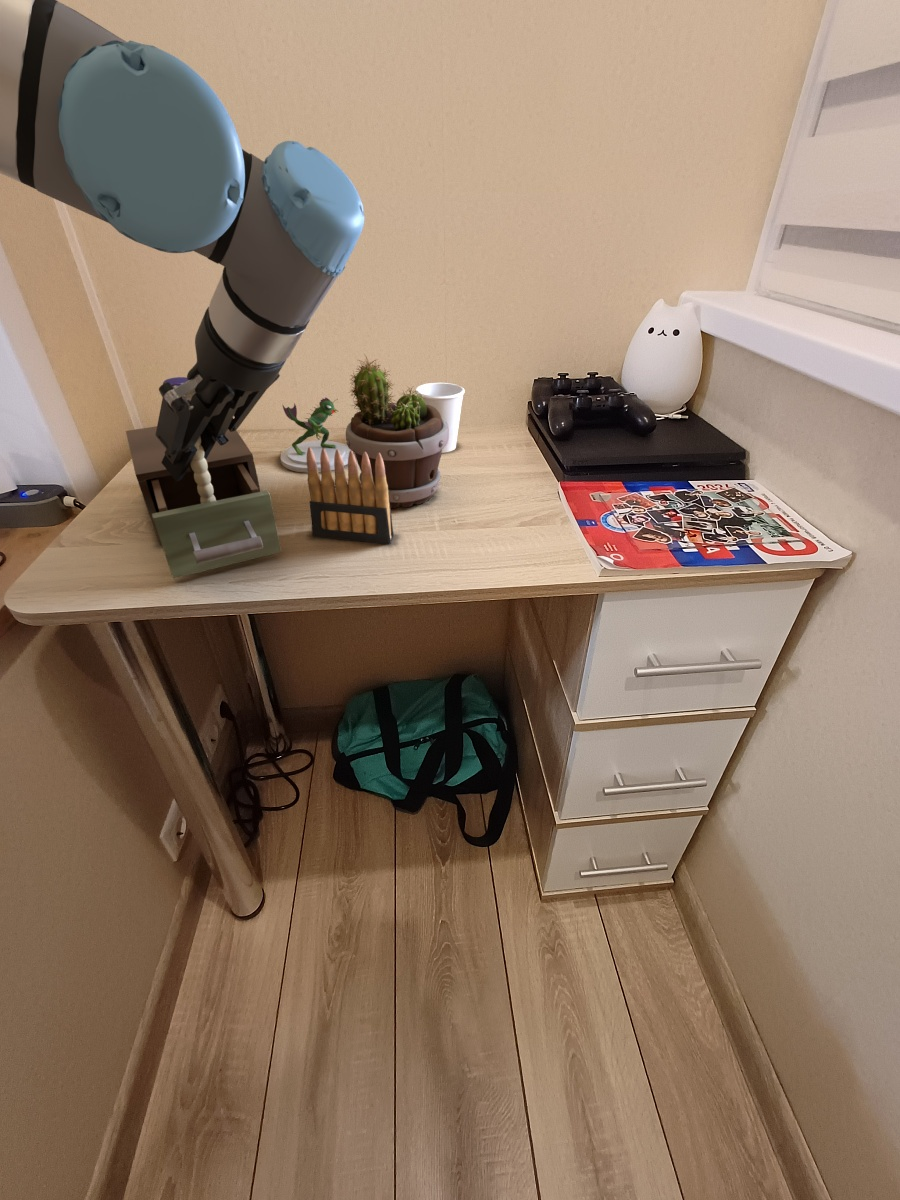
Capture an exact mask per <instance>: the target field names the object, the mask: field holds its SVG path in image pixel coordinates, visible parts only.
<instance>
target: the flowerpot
mask: <svg viewBox="0 0 900 1200" xmlns="http://www.w3.org/2000/svg"><path fill="white" fill-rule="evenodd" d="M363 355H364V356H365V361H363V360H360V359H357V361H359V363H360V365H358V367H357V368H355V370H353V371H352V372H353V373H352V374H351V378H350V381H351V382H350V383H349V385H350V387H352V388H350V391H348V392H347V394H349V393H351V394H350V397H352V401H353V402H352V403H353V404H351V405H350V406H353V407H354V408H353V410H357V411H356V413H354V415H353V417H352V416H351V418H350V422H349V423H348V424H347V426H346V428H345V445H347V446H348V447H349V449H350V450H352V452H353V453H354V456H355V459H356V462H357V466H358V467H359V470H360V474H359V479H360V483H361V484H362V469H361V464H362V456H363V453H364V452H366V453H367V455H368V457H369V460H370V465H371V472H372V478H373V482H374V487H375V463H376V457H377V454H378V453H380V454H381V456H382V459H383V462H384V467H385V475H386V482H387V485H388V495H389V503H390V508H393V509H397V508H399V507H402V508H408V507H412V506H413V505H421V504H423V503H426V502H428V501H429V500H430V499H431V498H433V496H434V494H435V492H436V491H438V487H439V484H440V480H441V471H440V470H439V465H440V461H441V458H442V449H443V448H444V447H445V446H446V445H447V443H448V440H449V427H448V424H447V422H446V421H445V420H444V419H443V418H442V417H441V415H440V413H439V411H438V410H437V409H436V408H435V407H433V406H431V405H426V404H425V402H424V401H423V397H422V395H421V397H420V396H418V395H417V394H416V393H417V392H418V391H417V392H416V391H415V389H414V390H412V389H413V387H410V386H407V388H408V389H407V390H406V391H405V390H402V391H403V392H402V393H400V395H401V397H399V398H398V399H397V400H395V399H393V400H392V398H393V397H396V395H392V394H393V392H391V393H390V392H389V390H390V389H392V387H393V386H394V384H393V383H392V382H391V381H392V379H389V378H388V377H389V376H391V374H389V372H390V370H388V371H387V369H385V367H383V369H384V370H383V369H381V366H380V363H379V361H378V359H379V358H376V359H374V360H372V361H369V359H368V357H367V355H366V353H363ZM377 361H378V363H377ZM355 372H357V373H355ZM415 392H416V393H415ZM419 393H420V390H419ZM420 394H421V393H420ZM420 394H419V395H420ZM354 399H355V400H354ZM424 399H425V398H424ZM393 401H395V402H393Z"/></svg>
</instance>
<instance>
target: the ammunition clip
mask: <svg viewBox="0 0 900 1200" xmlns="http://www.w3.org/2000/svg"><path fill="white" fill-rule="evenodd" d="M320 465H321V472H320V473H319V472H318V469H317V464H316V460H315V456H314V454H313V451H312V449H311V448H310V447H309V448H308V450H307V469H308V470H307V471H308V473H307V486H308V487H307V488H308V494H309V502H308V503H309V512H310V513H309V514H310V522H311V531H312V536H313V537H316V538H325V539H335V540H346V541H355V542H363V543H373V544H374V543H375V544H382V545H383V544H384V545H390V544H391V543H392V541H393V539H394V537H395V535H394V527H393V519H392V518H393V517H392V510H391V507H390V503H389V495H388V485H387V482H386V475H385V467H384V462H383V459H382V456H381V454H380V453H378V454H377V457H376V463H375V487H374V482H373V478H372V472H371V465H370V460H369V457H368V455H367V453H366V452H364V453H363V456H362V464H361V469H362V484H361V483H360V479H359V476H360V474H359V468H358V467H359V466H358V462H357V459H356V456H355V452H353V451H350V452H349V456H348V464H347V476H348V477H346V471H345V466H344V464H343V460H342V457H341V454H340V452H339V450H338V449H337V450H336V452H335V457H334V469H335V470H334V477H333V472H332V471H331V467H330V462H329V458H328V455H327V453H326V451H325V449H324V448H323V449H322V451H321V457H320ZM320 476H321V477H320ZM347 478H348V479H347Z"/></svg>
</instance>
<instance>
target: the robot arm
mask: <svg viewBox="0 0 900 1200" xmlns="http://www.w3.org/2000/svg"><path fill="white" fill-rule="evenodd" d="M0 174H1V175H4V176H5V177H7V178H9V179H12V180H15V181H17V182H19V183H22V184H23V185H26V186H28V187H30V188H33V189H34V190H36V191H37V192H38V193H41V194H43V195H45V196H47V197H50V198H51V199H54V200H56V201H59V202H60V203H62V204H65V205H67V206H70V207H72V208H74V209H77V210H78V211H81V212H83V213H85V214H86V215H87V214H88V215H90V216H92V217H94V218H97V219H99V220H100V221H104V222H106V223H107V224H109V225H111V226H112V227H113V228H114V229H115V230H116V231H117V232H118V233H119V234H121V235H122V236H124V237H126V238H127V239H130V240H131V241H134V242H135V243H138V244H140V245H141V244H142V245H144V246H146V247H148V248H152V249H154V250H157V251H159V252H164V253H169V254H185V253H191V252H195V253H196V254H199V255H200V256H203V257H205V258H207V259H208V260H209V261H211V262H213V263H215V264H217V265H221V266H222V267H223V269H222V274H221V276H220V278H219V280H218V283H217V285H216V287H215V290H214V292H213V294H212V297H211V299H210V301H209V305H208V306H207V308H206V310H205V312H204V314H203V317H202V319H201V321H200V324H199V326H198V328H197V331H196V333H195V336H194V337H195V338H194V347H195V354H196V362H195V364H194V365H193V366H192V367H191V368H190V369H189V370H188V372H187V375H186V378H187V381H186V382H185V383H183V384H181V385H180V386H177V385H175V386H172V385H171V384H170V383H164V384H163V383H162V384H161V385H160V386H159V387H158V392H159V393H160V395H161V398H162V399H161V405H160V409H159V410H160V411H159V414H158V420H157V425H156V426H157V430H156V436H157V438H158V439H159V440H160V441H161V443H162V444H163V445H164V446H165V448H166V451H165V456H164V458H163V460H162V462H161V463H162V464H163V465H164V467H165V468H166V469H167V470H168V472H169V473H170V474H171V475H172V477H173V478H174V479H175V480H176V481H179V480H181V479H182V478H183V476H184V474H185V472H186V471H187V469H188V468H189V469H190V470H191V471H192V472H193V474H194V471H193V470H192V468H191V464H190V463H191V461H192V459H193V457H194V455H195V454H196V452H197V448H196V447H195V446H194V445H195V443H196V442H197V440H198V439H199V437H201V446H202V447H203V449H204V458H205V459H207V457H208V455H209V453H210V451H211V450H212V448H213V446H214V444H215V442H216V441H217V442H218V443H219V444H220V445H224V444H226V443H227V442H228V441H229V440H228V438H227V437H226V436H225V433H226V431H227V430H228V429H229V431H230V432H233V431H236V430H237V431H238V429H239V428H240V426H241V425H242V423H244V421H245V420H246V419H247V417H248V416H249V414H250V413H251V411H252V410H253V409H254V408H255V406H256V405H257V403H258V402H259V401H260V400H261V398H262V397H263V395H264V394H265V393H266V391H267V390H268V389H269V388H270V387H271V386H272V385H273V384H274V383H275V382H276V381H278V379H279V378H280V376H281V375H280V372H281V370H282V368H283V367H284V365H285V363H286V362H287V359H289V358H290V356H291V354H292V353H293V351H294V349H295V347H296V346H297V345H298V342H299V341H300V339H301V337H302V335H303V334H304V332H305V331H306V328H307V326H308V324H309V323H310V320H311V319H312V317H313V316H314V314H315V313H316V311H317V310H318V308H319V306H320V305H321V303H322V302H323V300H324V299H325V298H326V296H327V294H328V292H329V291H330V289H332V286H333V285H334V283H335V282H336V280H337V279H338V277H339V276H340V275H342V273H343V272H344V271H345V268H346V264H347V262H348V260H349V258H350V257H351V254H352V252H353V250H354V249H355V247H356V244H357V242H358V240H359V238H360V237H361V234H362V231H363V230H364V229H363V228H364V225H365V219H366V218H365V212H364V205H363V203H362V199H361V196H360V195H359V192H358V190H357V188H356V187H355V185H354V184H353V182H352V180H351V179H350V177H348V175H347V174H346V173H345V172H344V170H343V169H342V168H341V167H340V166H339V165H338V164H337V163H335V161H333V160H332V159H331V158H330V157H329V156H328V155H326V154H325V153H324V152H322V151H320V150H319V149H317V148H316V147H312V146H308V147H306V146H304V145H303V144H302V143H300V142H299V141H295V140H285V141H282V142H279V143H278V144H276V145H275V147H273V149H272V150H271V152H270V154H268V156H266V157H265V158H264V160H262V159H261V158H259V157H257V156H256V155H254V154H252V153H249V152H247V151H246V150H244V149H243V148H242V144H241V141H240V136H239V134H238V132H237V130H236V127H235V125H234V122H233V120H232V118H231V116H230V114H229V112H228V110H227V109H226V107H225V105H224V104H223V102H222V101H221V99H220V97H218V95H217V93H216V92H215V91H214V90H213V88H212V87H211V86H210V85H209V84H208V82H207V81H206V80H205V79H204V78H203V77H202V76H201V75H200V74H199V73H198V72H197V71H195V70H194V69H193V68H192V67H190V66H189V64H187V63H186V62H184V61H183V60H181V59H179V58H178V57H176V56H175V55H173V54H171V53H169V52H167V51H165V50H162V49H161V48H158V47H156V46H154V45H149V44H144V43H141V42H137V41H134V40H128V41H126V40H124V39H123V38H121V37H119V36H118V35H116V34H115V33H113V32H111V31H109V30H108V29H106V28H105V27H104V26H102V25H100V24H98V23H97V22H95V21H93V20H92V19H90V18H88V17H87V16H85V15H83V13H80V12H79V11H77V10H76V9H74V8H71V7H70V6H68V5H66V4H64V3H62V2H60V1H59V0H0Z"/></svg>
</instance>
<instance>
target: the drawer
mask: <svg viewBox="0 0 900 1200" xmlns="http://www.w3.org/2000/svg"><path fill="white" fill-rule="evenodd" d="M207 471H208V472H209V474H210V477H211V482H210V483H211V484H212V486H213V489H214V493H213V495H214V496H215V498H216V501H212V502H207V503H202V504H201V501H200V498H201V496H200V495H199V493H198V490H197V485H198V484H197V483H196V482H195V479H194V474H193V472H187V473H185V474H184V476H183V478H182V479H181V480H179V481H176V480H175V479H174V478H173V477H172V475H170V476H165V477H159V478H154V479H151V482H152V486H153V490H154V493H155V497H156V501H157V504H158V508H159V511H160V512H158V513H153V514H152V517H153V520H154V523H155V526H156V529H157V532H158V535H159V538H160V541H161V544H162V545H161V546H162V549H163V552H164V556H165V558H166V562H167V564H168V567H169V570H170V573H171V576H172V578H173V579H177V578H181V577H186V576H189V575H193V574H197V573H198V574H199V573H202V572H206V571H210V570H215V569H218V568H222V567H227V566H230V565H234V564H239V563H242V562H246V561H250V560H254V559H258V558H263V557H267V556H271V555H274V554H278V553H279V554H280V553H282V547H281V543H280V542H281V541H280V538H279V532H278V528H277V523H276V518H275V517H276V516H275V513H274V507H273V503H272V497H271V494H270V492H269V491H268V489H267V490H260V492H259V490H258V488H257V486H256V485H255V483H254V481H253V480H252V478H251V476H250V475H249V473H248V472H247V470H246V468H245V467H244V465H243V463H236V464H231V465H225V466H220V467H214V468H209V469H207Z"/></svg>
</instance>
